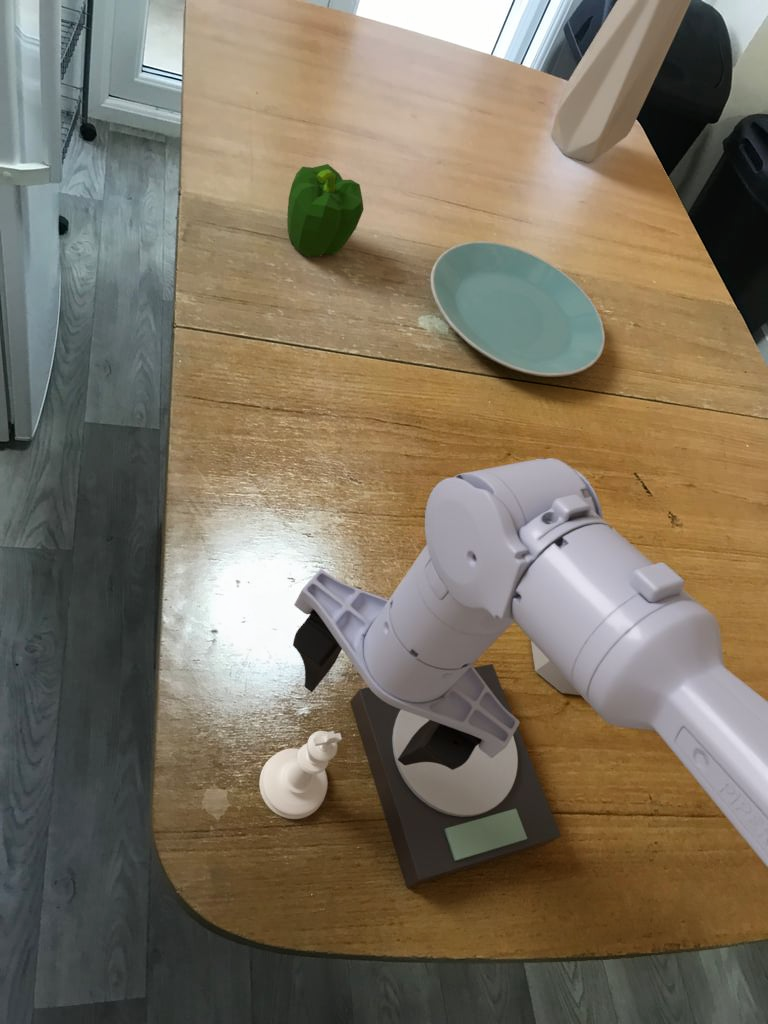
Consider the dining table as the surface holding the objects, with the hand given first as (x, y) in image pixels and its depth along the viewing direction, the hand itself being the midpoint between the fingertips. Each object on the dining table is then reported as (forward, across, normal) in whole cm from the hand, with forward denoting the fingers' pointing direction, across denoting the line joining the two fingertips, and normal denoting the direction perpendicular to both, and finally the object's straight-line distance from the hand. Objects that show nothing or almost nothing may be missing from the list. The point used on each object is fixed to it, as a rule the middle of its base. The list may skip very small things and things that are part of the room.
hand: (362, 714), depth 55 cm
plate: (+9, +13, -58) cm, 60 cm away
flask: (+9, -12, -22) cm, 26 cm away
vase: (+9, +25, -105) cm, 108 cm away
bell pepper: (+9, +36, -48) cm, 61 cm away
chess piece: (+9, +1, +3) cm, 10 cm away
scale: (+9, -8, -5) cm, 13 cm away
